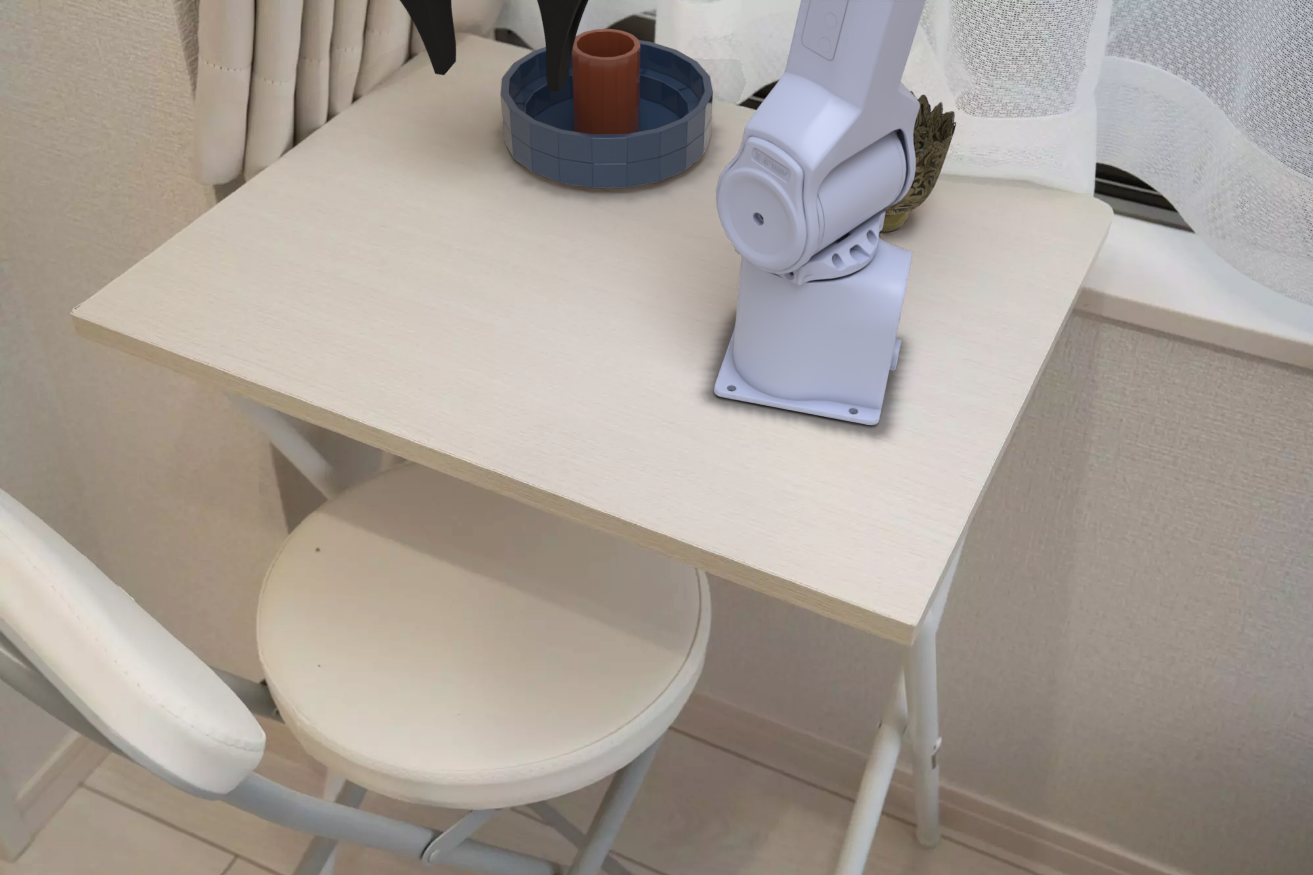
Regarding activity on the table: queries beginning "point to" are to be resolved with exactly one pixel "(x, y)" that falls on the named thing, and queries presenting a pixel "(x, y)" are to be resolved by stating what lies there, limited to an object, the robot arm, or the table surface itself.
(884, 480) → the table surface
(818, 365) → the robot arm
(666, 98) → the bowl
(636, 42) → the cup
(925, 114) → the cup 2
